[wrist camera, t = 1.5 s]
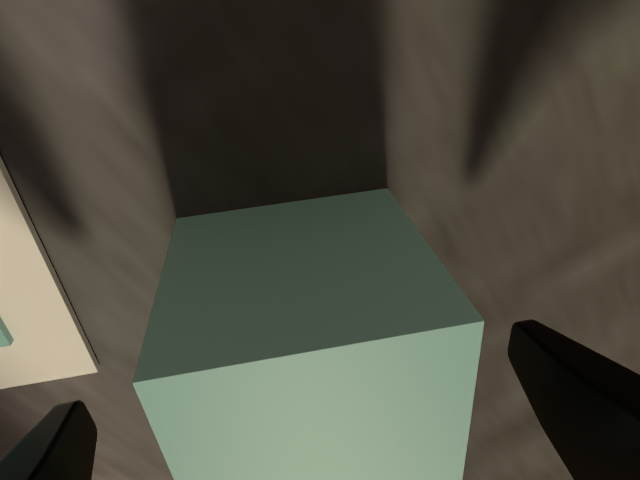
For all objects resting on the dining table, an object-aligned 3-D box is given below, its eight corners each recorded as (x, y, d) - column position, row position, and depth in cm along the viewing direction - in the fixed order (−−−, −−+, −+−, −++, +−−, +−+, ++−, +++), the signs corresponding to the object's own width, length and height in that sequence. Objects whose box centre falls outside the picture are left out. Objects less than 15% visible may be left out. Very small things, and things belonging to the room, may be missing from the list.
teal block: (387, 339, 13) (458, 509, 9) (219, 369, 13) (210, 562, 9) (386, 187, 11) (484, 321, 6) (177, 216, 10) (132, 383, 6)
